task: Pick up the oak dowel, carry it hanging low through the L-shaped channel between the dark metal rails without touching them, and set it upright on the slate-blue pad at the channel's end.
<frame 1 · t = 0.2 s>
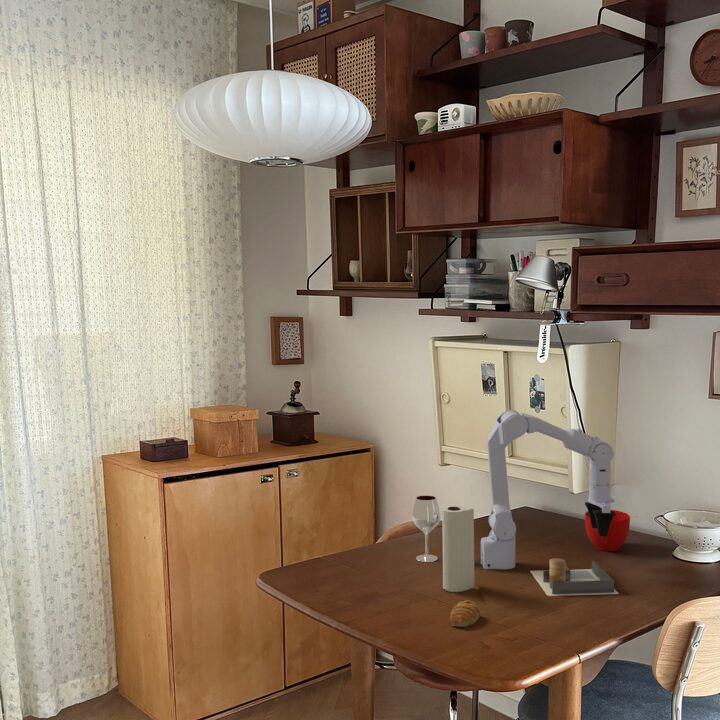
hand: (599, 531, 226), 10 cm above the table, tool pointing down, fingers open, 7 cm apart
oak dowel: (557, 587, 208), point 1 cm above the table, touching track board
track board: (572, 585, 212), on the table
metal rails: (574, 576, 212), on the track board, point 2 cm above the table
paper towel roll: (456, 589, 211), on the table
ceramic cup: (606, 550, 242), on the table
wineglass: (426, 559, 236), on the table
pastry: (465, 621, 191), on the table
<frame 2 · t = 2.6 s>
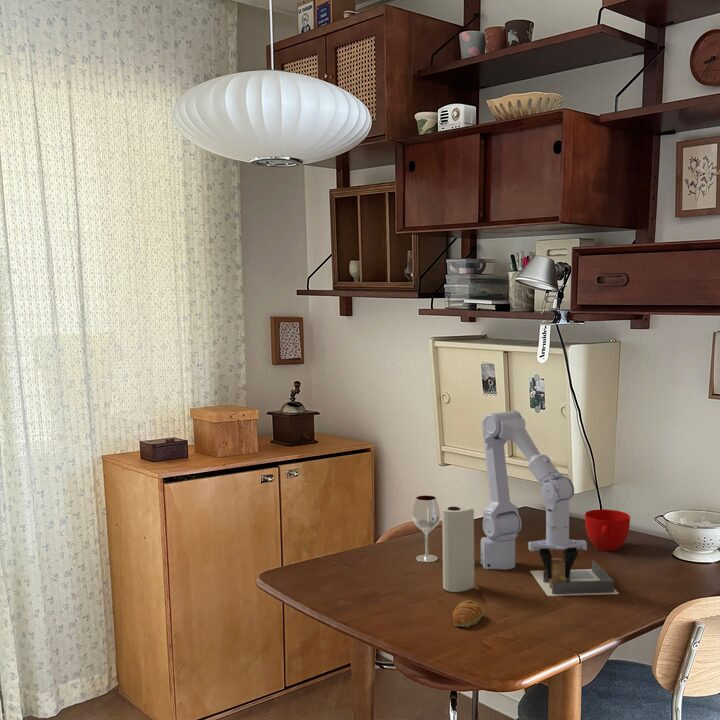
hand: (557, 577, 208), 4 cm above the table, tool pointing down, fingers closed on oak dowel, 4 cm apart
oak dowel: (557, 587, 208), point 1 cm above the table, touching gripper, track board
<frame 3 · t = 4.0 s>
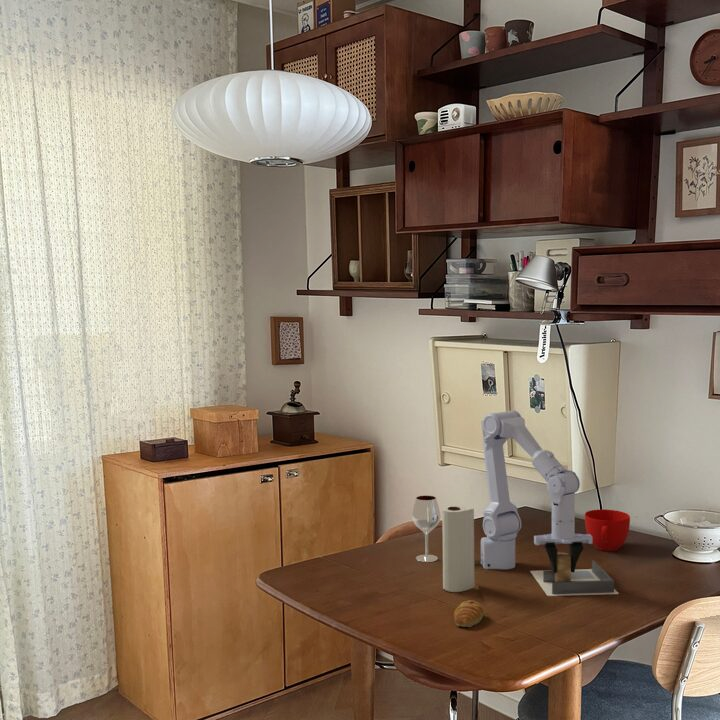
hand: (563, 571, 208), 5 cm above the table, tool pointing down, fingers closed on oak dowel, 4 cm apart
oak dowel: (563, 581, 208), point 3 cm above the table, touching gripper
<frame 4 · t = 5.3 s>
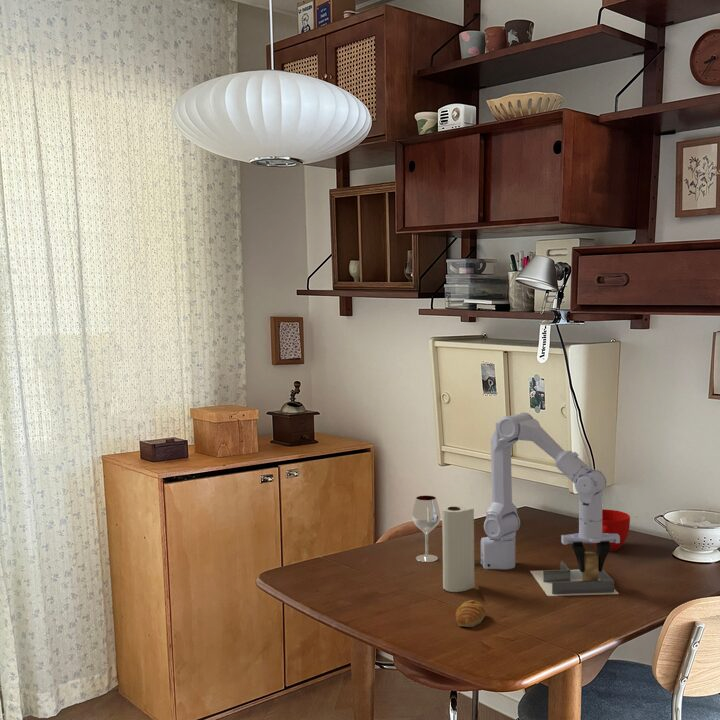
hand: (590, 570, 208), 5 cm above the table, tool pointing down, fingers closed on oak dowel, 4 cm apart
oak dowel: (590, 580, 209), point 2 cm above the table, touching gripper
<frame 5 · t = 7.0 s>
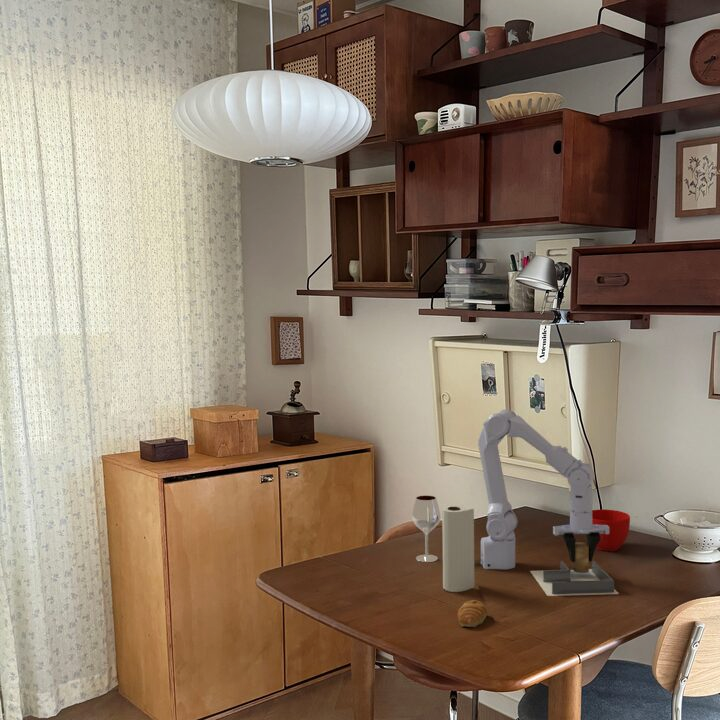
hand: (580, 560, 216), 5 cm above the table, tool pointing down, fingers closed on oak dowel, 4 cm apart
oak dowel: (580, 570, 217), point 2 cm above the table, touching gripper
when the fingers open (5 cm above the table, at t = 8.4 s): oak dowel stays where it is, resting on track board.
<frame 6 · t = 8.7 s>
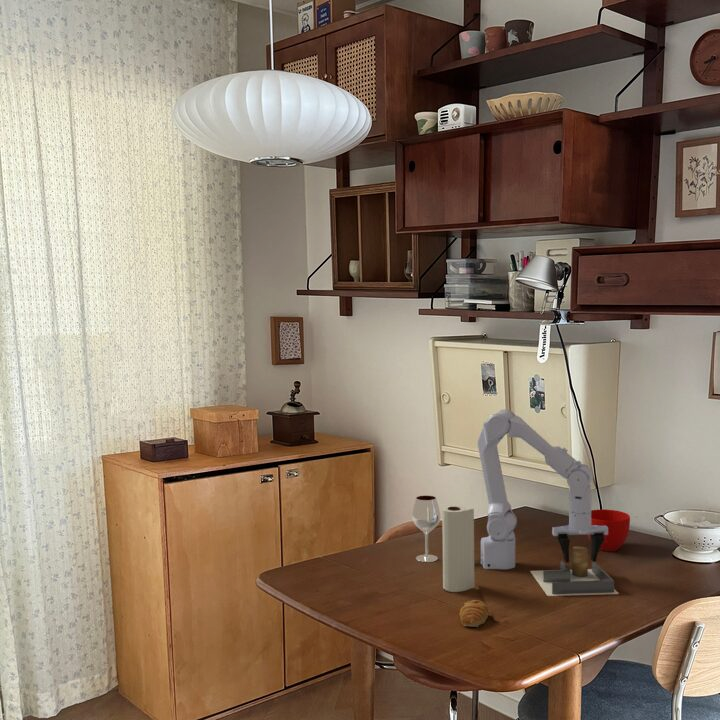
hand: (579, 561, 217), 5 cm above the table, tool pointing down, fingers open, 7 cm apart
oak dowel: (579, 574, 218), point 1 cm above the table, touching track board
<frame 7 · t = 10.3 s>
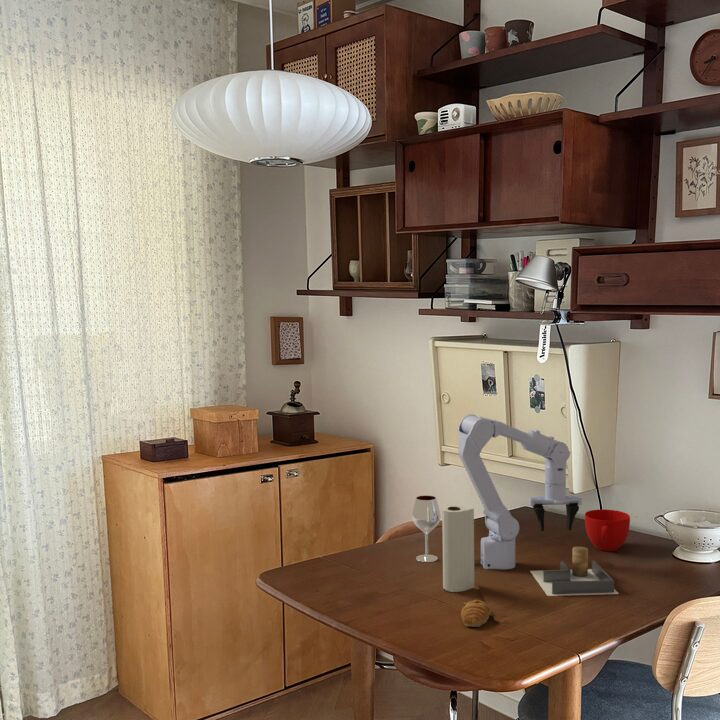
hand: (555, 529, 230), 9 cm above the table, tool pointing down, fingers open, 7 cm apart
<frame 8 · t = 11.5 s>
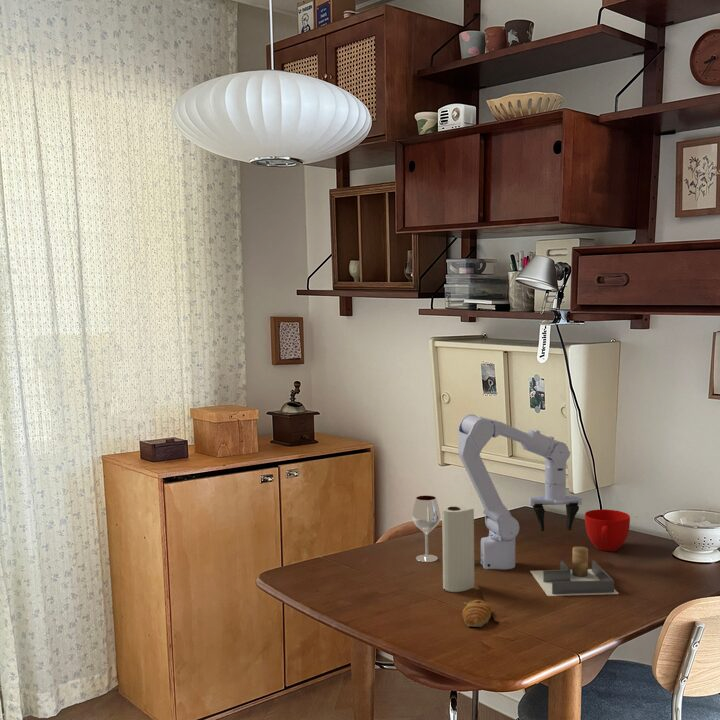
hand: (555, 529, 230), 9 cm above the table, tool pointing down, fingers open, 7 cm apart
at the end: oak dowel 0.0 cm from the target spot, point 1.1 cm above the table; oak dowel tilted 1°; oak dowel touching track board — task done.
